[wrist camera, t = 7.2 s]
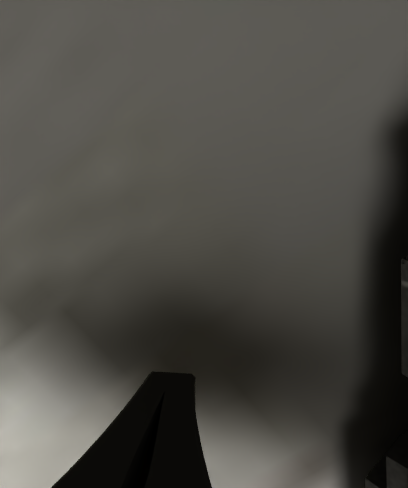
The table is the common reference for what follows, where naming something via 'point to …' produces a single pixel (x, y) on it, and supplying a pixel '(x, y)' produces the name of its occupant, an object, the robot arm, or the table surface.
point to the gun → (404, 448)
